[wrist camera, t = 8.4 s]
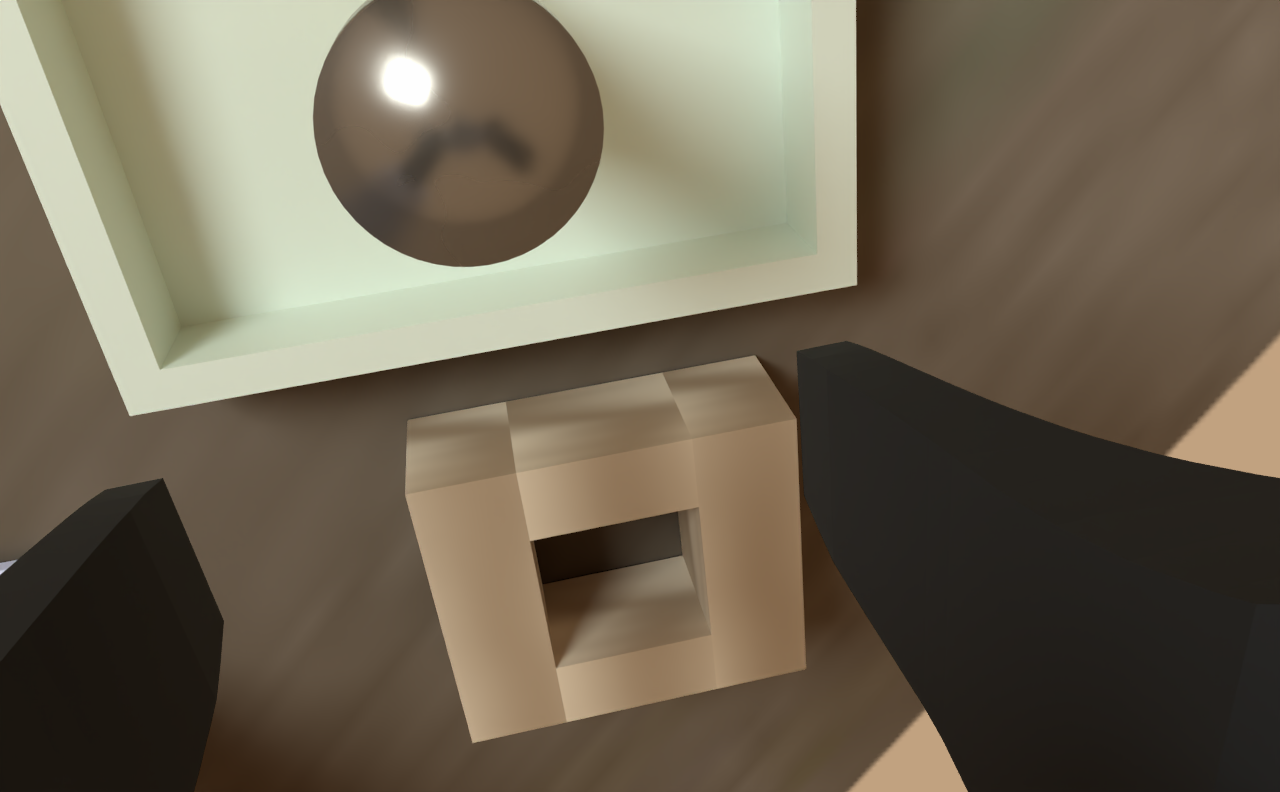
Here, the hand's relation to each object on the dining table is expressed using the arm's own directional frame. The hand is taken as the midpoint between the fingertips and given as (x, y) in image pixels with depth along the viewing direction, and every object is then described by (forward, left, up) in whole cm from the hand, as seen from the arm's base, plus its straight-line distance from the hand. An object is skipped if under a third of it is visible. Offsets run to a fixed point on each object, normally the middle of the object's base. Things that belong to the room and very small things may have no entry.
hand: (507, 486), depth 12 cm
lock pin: (0, +4, -10) cm, 10 cm away
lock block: (+2, -8, -10) cm, 13 cm away
